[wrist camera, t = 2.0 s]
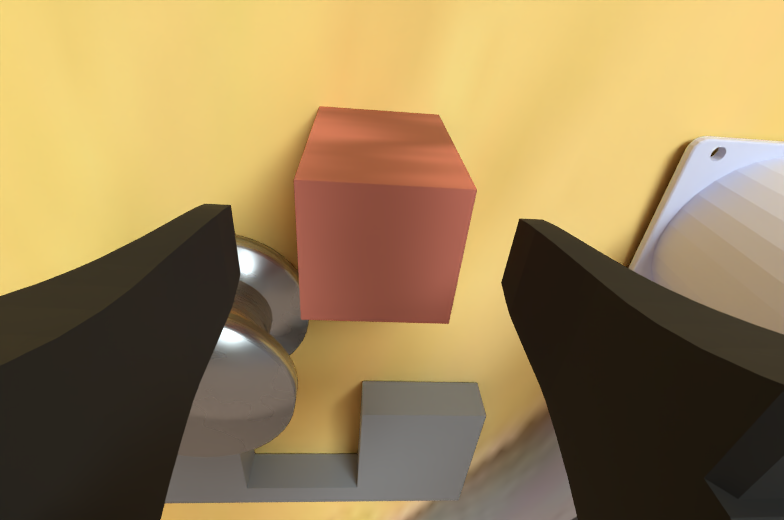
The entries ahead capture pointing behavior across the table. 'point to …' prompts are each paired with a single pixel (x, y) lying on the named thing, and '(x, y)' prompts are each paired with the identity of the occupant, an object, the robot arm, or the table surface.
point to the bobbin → (250, 361)
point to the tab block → (380, 217)
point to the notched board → (357, 471)
